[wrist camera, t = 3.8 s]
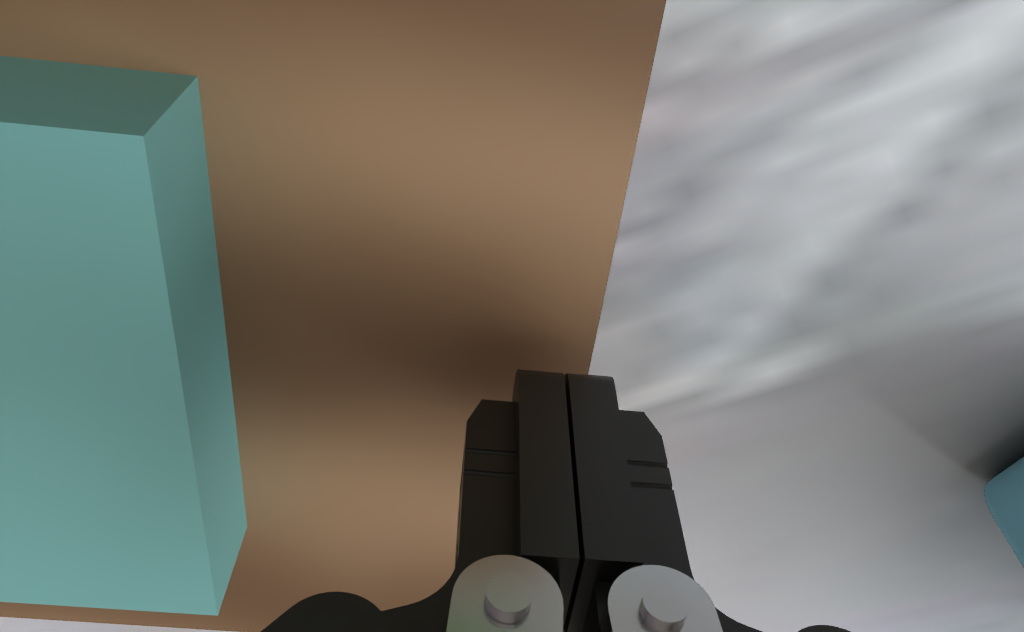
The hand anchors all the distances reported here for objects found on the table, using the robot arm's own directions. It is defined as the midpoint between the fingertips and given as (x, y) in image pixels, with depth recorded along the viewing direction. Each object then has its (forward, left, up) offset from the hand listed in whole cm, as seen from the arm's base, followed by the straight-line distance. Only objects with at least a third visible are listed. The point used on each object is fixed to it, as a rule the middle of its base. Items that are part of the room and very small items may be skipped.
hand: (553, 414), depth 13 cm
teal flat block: (0, -8, -1) cm, 8 cm away
